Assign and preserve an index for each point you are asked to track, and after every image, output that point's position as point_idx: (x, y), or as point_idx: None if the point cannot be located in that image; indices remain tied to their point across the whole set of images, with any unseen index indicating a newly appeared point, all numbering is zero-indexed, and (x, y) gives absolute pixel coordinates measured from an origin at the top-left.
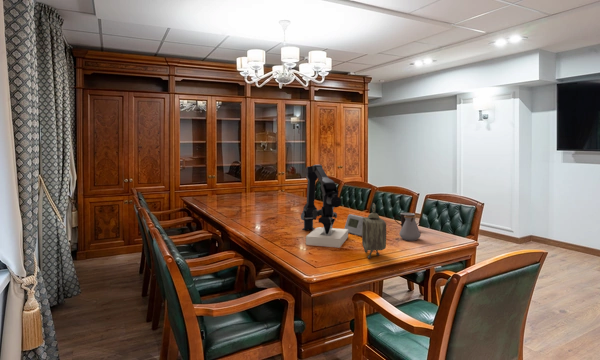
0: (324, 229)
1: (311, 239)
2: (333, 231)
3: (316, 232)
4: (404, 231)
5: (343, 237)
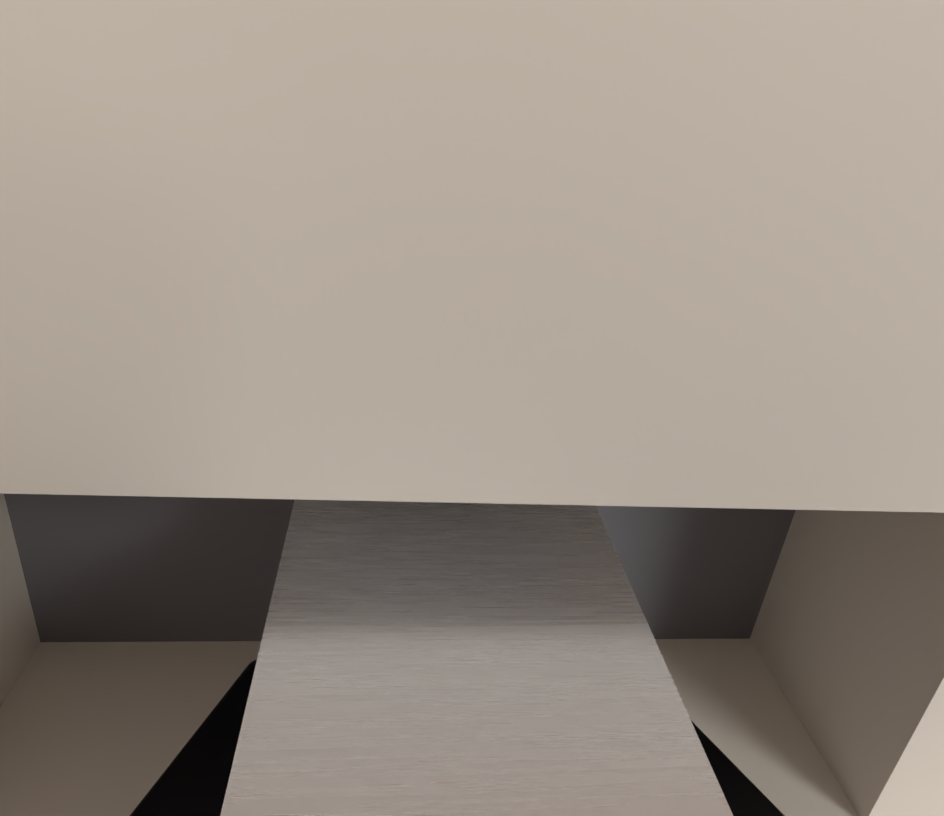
0: (249, 770)
1: None
2: (865, 720)
3: (301, 204)
4: None
5: None
